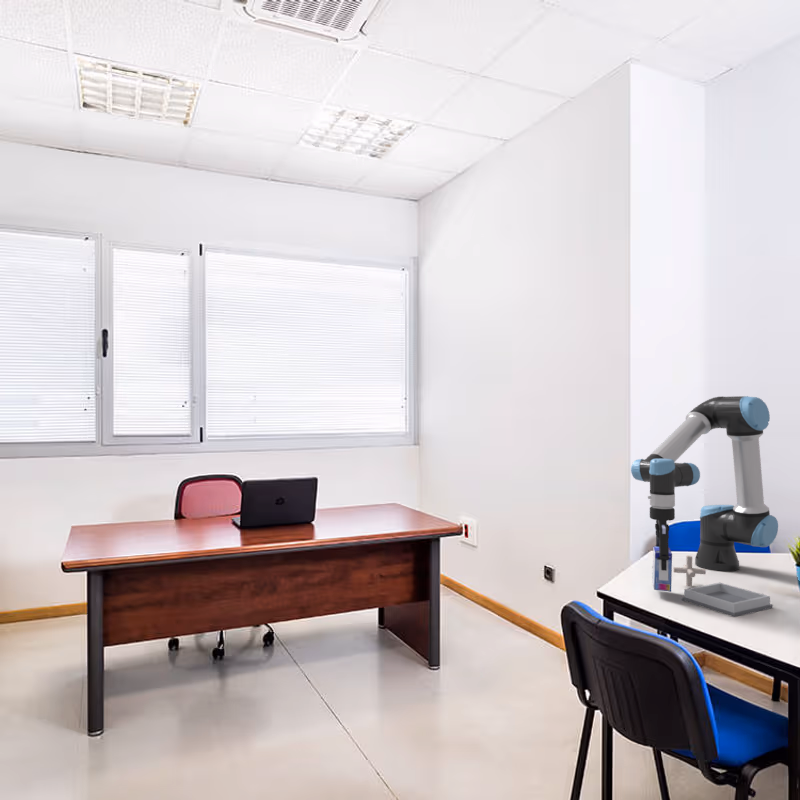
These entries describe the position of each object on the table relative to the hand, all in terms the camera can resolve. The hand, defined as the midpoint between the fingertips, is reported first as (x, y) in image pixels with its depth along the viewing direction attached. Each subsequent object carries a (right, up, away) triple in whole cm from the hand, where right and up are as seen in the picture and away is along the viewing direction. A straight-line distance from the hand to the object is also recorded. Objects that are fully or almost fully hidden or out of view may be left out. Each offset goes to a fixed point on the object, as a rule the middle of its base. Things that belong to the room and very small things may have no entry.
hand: (662, 575), depth 214 cm
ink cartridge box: (0, -4, 0) cm, 4 cm away
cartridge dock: (+16, -6, -10) cm, 20 cm away
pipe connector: (+13, -6, +11) cm, 18 cm away
